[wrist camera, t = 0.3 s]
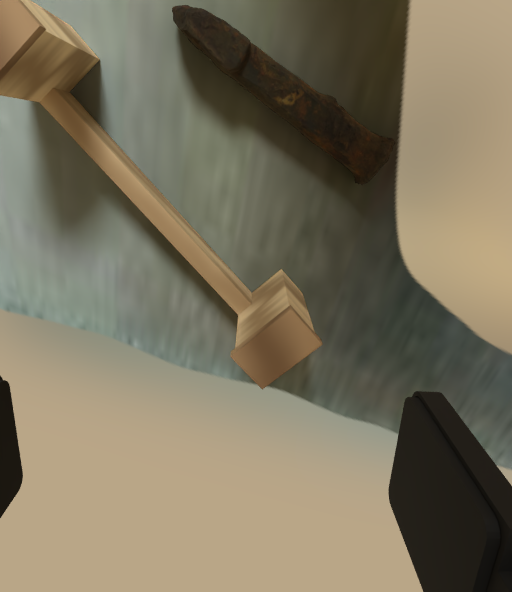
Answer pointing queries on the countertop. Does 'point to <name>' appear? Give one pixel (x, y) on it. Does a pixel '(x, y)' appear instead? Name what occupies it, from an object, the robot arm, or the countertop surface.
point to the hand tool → (286, 93)
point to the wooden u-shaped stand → (148, 188)
